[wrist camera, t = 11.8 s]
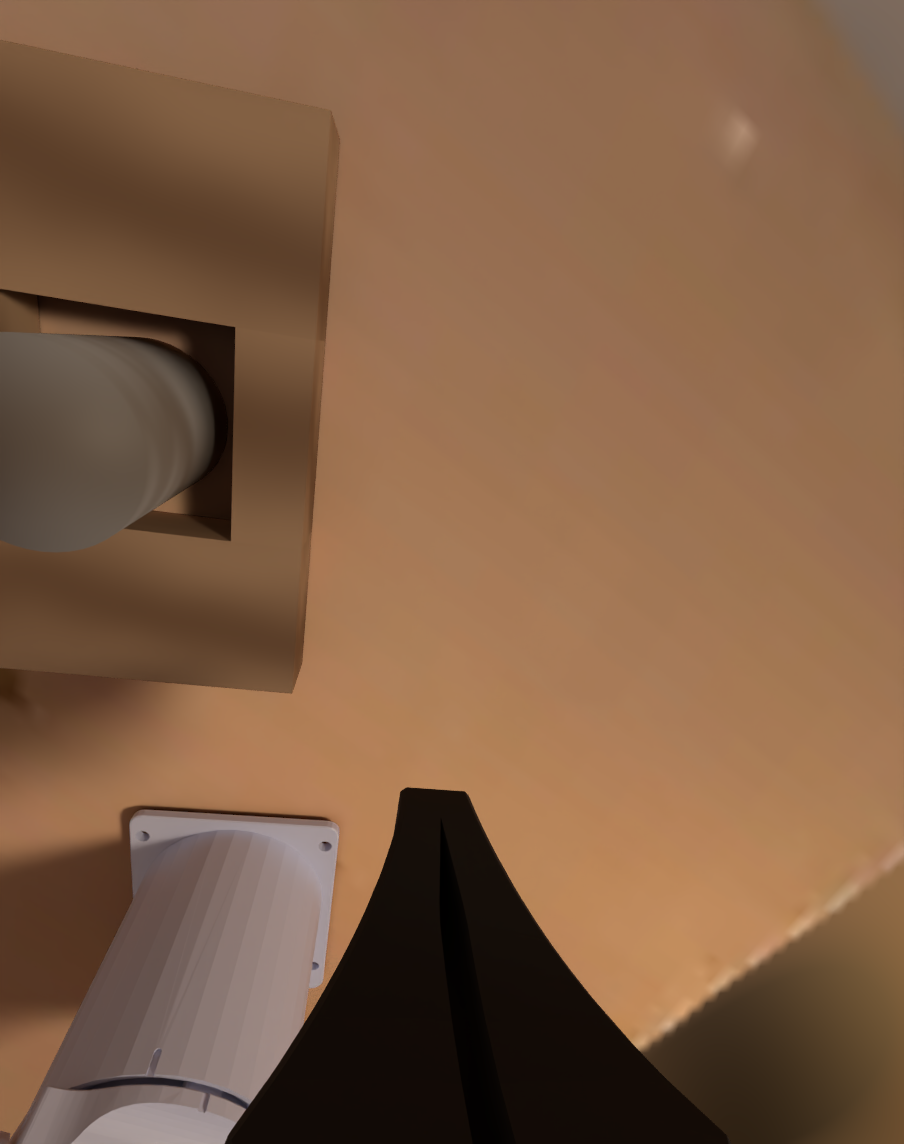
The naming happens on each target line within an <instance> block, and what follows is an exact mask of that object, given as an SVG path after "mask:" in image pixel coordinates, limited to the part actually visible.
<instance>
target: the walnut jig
mask: <svg viewBox="0 0 904 1144" xmlns="http://www.w3.org/2000/svg"><path fill="white" fill-rule="evenodd" d="M339 145H340V138H339V135H338V131H337V128H336V125H335V122H334V119H333V116H332V112H331V110H327V109H322V108H318V107H313V106H308V105H304V104H299V103H294V102H290V101H285V100H280V99H275V98H271V97H266V96H261V95H257V94H252V93H247V92H243V91H238V90H233V89H229V88H224V87H219V86H214V85H210V84H205V83H200V82H196V81H191V80H186V79H182V78H177V77H172V76H167V75H163V74H158V73H153V72H149V71H144V70H139V69H135V68H130V67H125V66H121V65H116V64H111V63H106V62H102V61H97V60H92V59H88V58H83V57H78V56H74V55H69V54H64V53H59V52H55V51H50V50H45V49H41V48H36V47H31V46H27V45H22V44H17V43H13V42H8V41H3V40H0V668H7V669H19V670H30V671H41V672H53V673H64V674H75V675H87V676H98V677H109V678H121V679H132V680H143V681H155V682H166V683H177V684H189V685H200V686H211V687H223V688H234V689H246V690H257V691H268V692H280V693H291V694H292V692H293V689H294V686H295V683H296V680H297V677H298V674H299V671H300V668H301V665H302V658H303V644H304V630H305V616H306V603H307V589H308V575H309V561H310V547H311V533H312V519H313V505H314V492H315V478H316V464H317V450H318V436H319V422H320V408H321V394H322V381H323V367H324V353H325V339H326V325H327V311H328V297H329V283H330V269H331V256H332V242H333V228H334V214H335V200H336V186H337V172H338V158H339ZM37 295H42V296H48V297H54V298H60V299H67V300H73V301H79V302H85V303H91V304H97V305H103V306H109V307H115V308H122V309H128V310H134V311H140V312H146V313H152V314H158V315H164V316H171V317H177V318H183V319H189V320H195V321H201V322H207V323H213V324H219V325H226V326H232V327H235V373H234V420H233V468H232V515H231V520H224V519H216V518H208V517H200V516H191V515H183V514H175V513H167V512H159V511H152V510H153V509H155V508H157V507H158V506H160V505H161V504H163V503H164V502H166V501H168V500H169V499H171V498H172V497H174V496H175V495H177V494H178V493H180V492H182V491H183V490H185V489H186V488H188V487H189V486H191V485H193V484H194V483H196V482H197V481H199V480H200V479H202V478H203V477H204V476H206V475H207V474H208V473H209V472H210V471H211V470H212V469H213V468H214V466H215V465H216V464H217V462H218V460H219V459H220V457H221V455H222V453H223V450H224V447H225V443H226V439H227V430H228V426H227V415H226V409H225V406H224V402H223V399H222V397H221V395H220V392H219V390H218V388H217V386H216V385H215V383H214V381H213V380H212V378H211V377H210V376H209V374H208V373H207V372H206V371H205V370H204V368H203V367H202V366H201V365H200V364H199V363H198V362H197V361H195V360H194V359H193V358H192V357H191V356H189V355H188V354H186V353H185V352H183V351H182V350H180V349H178V348H176V347H174V346H172V345H170V344H168V343H165V342H162V341H159V340H155V339H150V338H141V337H121V336H96V335H72V334H47V333H40V322H39V311H38V299H37Z"/></svg>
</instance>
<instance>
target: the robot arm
mask: <svg viewBox="0 0 904 1144" xmlns="http://www.w3.org/2000/svg"><path fill="white" fill-rule="evenodd" d="M142 831H144V832H147V833H148V834H147V833H143V832H142ZM129 832H130V851H131V870H132V889H133V900H132V903H131V905H130V907H129V909H128V911H127V913H126V915H125V917H124V919H123V921H122V923H121V925H120V927H119V929H118V931H117V933H116V935H115V937H114V939H113V941H112V943H111V945H110V947H109V949H108V951H107V953H106V955H105V957H104V959H103V961H102V963H101V965H100V967H99V969H98V971H97V973H96V975H95V977H94V979H93V981H92V983H91V985H90V988H89V990H88V992H87V994H86V996H85V998H84V1000H83V1002H82V1004H81V1006H80V1008H79V1010H78V1012H77V1014H76V1016H75V1018H74V1020H73V1022H72V1024H71V1026H70V1028H69V1030H68V1032H67V1034H66V1036H65V1038H64V1040H63V1042H62V1044H61V1046H60V1048H59V1050H58V1052H57V1054H56V1056H55V1058H54V1060H53V1062H52V1064H51V1066H50V1068H49V1070H48V1072H47V1075H46V1077H45V1079H44V1081H43V1083H42V1085H41V1087H40V1089H39V1091H38V1093H37V1095H36V1097H35V1099H34V1101H33V1103H32V1105H31V1107H30V1109H29V1111H28V1113H27V1114H26V1116H25V1117H24V1119H23V1120H22V1122H21V1123H20V1125H19V1126H18V1128H17V1130H16V1131H15V1133H14V1134H13V1136H12V1137H11V1139H10V1133H7V1132H3V1131H0V1144H731V1142H730V1140H729V1138H728V1136H727V1135H726V1134H725V1133H724V1132H723V1131H722V1130H720V1129H719V1128H718V1127H717V1126H716V1125H715V1124H714V1123H713V1122H712V1121H711V1120H710V1119H709V1118H708V1117H707V1116H705V1115H704V1114H703V1113H702V1112H701V1111H700V1110H699V1109H698V1108H697V1107H696V1106H695V1105H694V1104H692V1103H691V1102H690V1101H689V1100H688V1099H687V1098H686V1097H685V1096H684V1095H683V1094H682V1093H681V1092H680V1091H679V1090H677V1089H676V1088H675V1087H674V1086H673V1085H672V1084H671V1083H670V1082H669V1081H668V1080H667V1079H666V1078H665V1077H664V1076H663V1075H662V1074H661V1073H660V1072H659V1071H658V1070H657V1069H656V1068H655V1067H654V1066H653V1065H652V1064H651V1063H650V1062H649V1061H648V1060H647V1059H646V1058H645V1057H644V1055H643V1054H642V1053H641V1052H640V1051H639V1050H638V1049H637V1048H636V1047H635V1046H634V1045H633V1044H632V1043H631V1042H630V1040H629V1039H628V1038H627V1037H626V1036H625V1035H624V1034H623V1032H622V1031H621V1030H620V1029H619V1028H618V1027H617V1026H616V1024H615V1023H614V1022H613V1021H612V1020H611V1019H610V1018H609V1016H608V1015H607V1014H606V1013H605V1012H604V1011H603V1010H602V1008H601V1007H600V1006H599V1005H598V1004H597V1003H596V1002H595V1000H594V999H593V998H592V997H591V996H590V994H589V993H588V992H587V991H586V989H585V988H584V987H583V986H582V984H581V983H580V982H579V981H578V979H577V978H576V977H575V975H574V974H573V973H572V972H571V970H570V969H569V968H568V966H567V965H566V964H565V962H564V961H563V960H562V958H561V957H560V956H559V954H558V953H557V951H556V950H555V949H554V947H553V946H552V945H551V943H550V942H549V940H548V939H547V937H546V936H545V934H544V933H543V931H542V930H541V929H540V927H539V926H538V924H537V923H536V921H535V919H534V918H533V916H532V915H531V913H530V912H529V910H528V908H527V907H526V905H525V904H524V902H523V901H522V899H521V897H520V896H519V894H518V892H517V891H516V889H515V887H514V885H513V884H512V882H511V880H510V878H509V877H508V875H507V873H506V871H505V869H504V868H503V866H502V864H501V862H500V861H499V859H498V857H497V855H496V853H495V851H494V849H493V847H492V845H491V843H490V841H489V839H488V837H487V835H486V833H485V831H484V829H483V827H482V825H481V823H480V821H479V819H478V816H477V814H476V812H475V810H474V807H473V805H472V803H471V800H470V798H469V796H468V795H467V793H466V792H464V791H450V790H436V789H421V788H405V789H404V790H402V791H401V792H400V798H399V804H398V811H397V817H396V824H395V830H394V836H393V839H392V842H391V845H390V848H389V851H388V854H387V857H386V860H385V863H384V866H383V869H382V872H381V874H380V877H379V879H378V882H377V884H376V887H375V889H374V891H373V894H372V896H371V898H370V901H369V903H368V906H367V908H366V910H365V912H364V915H363V917H362V919H361V921H360V923H359V925H358V928H357V930H356V932H355V934H354V936H353V938H352V940H351V942H350V944H349V946H348V948H347V950H346V952H345V953H344V955H343V957H342V959H341V961H340V963H339V965H338V967H337V968H336V970H335V972H334V974H333V976H332V977H331V979H330V981H329V983H328V985H327V986H326V988H325V990H324V992H323V993H322V995H321V997H320V999H319V1000H318V1002H317V1004H316V1005H315V1007H314V1009H313V1010H312V1012H311V1014H310V1015H309V1017H308V1018H307V1020H306V1022H305V1023H304V1016H305V1009H306V1003H307V996H308V990H309V988H315V987H318V986H319V985H320V984H322V981H323V976H324V967H325V958H326V949H327V940H328V931H329V922H330V913H331V904H332V895H333V886H334V877H335V868H336V859H337V850H338V841H339V827H338V825H337V824H336V823H334V822H331V821H324V820H308V819H291V818H275V817H259V816H243V815H227V814H210V813H194V812H178V811H162V810H139V811H137V812H136V813H135V814H134V815H133V816H132V818H131V820H130V823H129ZM325 841H326V842H329V843H328V844H325V843H322V842H325ZM303 1023H304V1025H303ZM9 1139H10V1140H9Z"/></svg>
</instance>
